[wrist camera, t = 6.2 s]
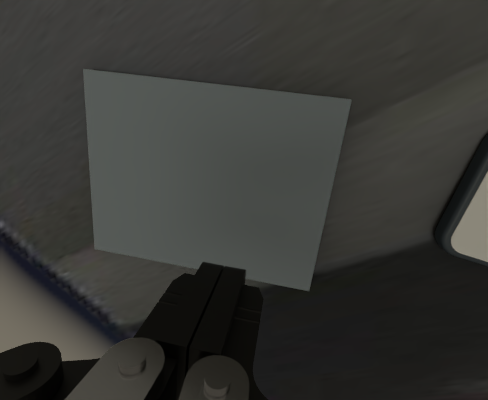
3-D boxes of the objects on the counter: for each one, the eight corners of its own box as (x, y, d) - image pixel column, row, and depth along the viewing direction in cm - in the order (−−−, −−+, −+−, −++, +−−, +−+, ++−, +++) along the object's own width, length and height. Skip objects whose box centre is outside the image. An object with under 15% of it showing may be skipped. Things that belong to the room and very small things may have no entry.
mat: (348, 99, 18) (351, 99, 17) (308, 283, 23) (309, 291, 22) (92, 70, 21) (83, 68, 20) (102, 243, 25) (94, 248, 24)
